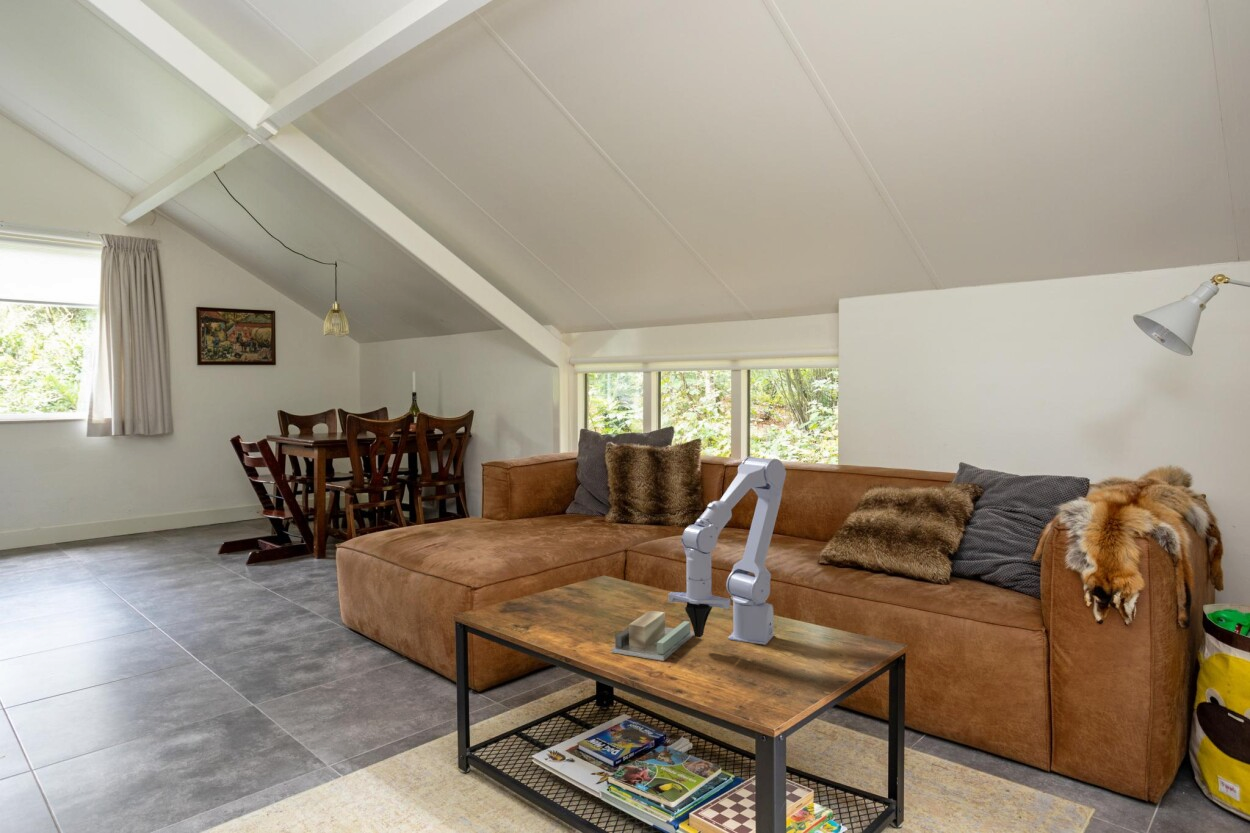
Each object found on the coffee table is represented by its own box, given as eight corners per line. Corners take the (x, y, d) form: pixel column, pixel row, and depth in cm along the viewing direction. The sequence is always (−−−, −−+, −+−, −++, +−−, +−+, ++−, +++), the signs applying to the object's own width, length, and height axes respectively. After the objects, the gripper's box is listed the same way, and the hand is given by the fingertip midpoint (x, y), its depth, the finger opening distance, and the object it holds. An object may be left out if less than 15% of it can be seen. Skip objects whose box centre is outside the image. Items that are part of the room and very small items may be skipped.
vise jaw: (690, 631, 183) (690, 621, 183) (663, 654, 168) (663, 643, 168) (684, 630, 184) (684, 620, 184) (656, 653, 169) (656, 642, 168)
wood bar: (665, 632, 183) (664, 612, 183) (644, 648, 172) (644, 626, 172) (650, 630, 185) (649, 610, 185) (629, 645, 174) (628, 624, 174)
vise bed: (693, 635, 184) (693, 620, 184) (663, 661, 167) (663, 645, 167) (645, 628, 190) (645, 614, 189) (611, 652, 173) (611, 637, 172)
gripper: (663, 578, 172) (663, 636, 173) (723, 585, 166) (723, 645, 166) (674, 571, 178) (674, 627, 179) (733, 577, 172) (733, 636, 173)
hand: (699, 635), depth 173 cm, fingers closed
